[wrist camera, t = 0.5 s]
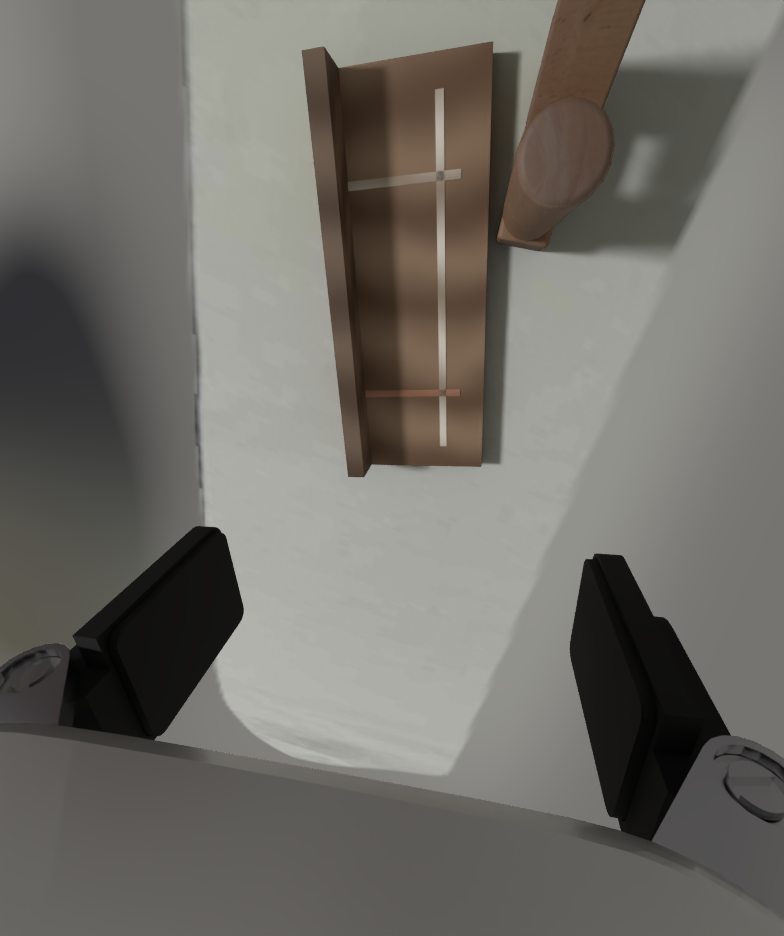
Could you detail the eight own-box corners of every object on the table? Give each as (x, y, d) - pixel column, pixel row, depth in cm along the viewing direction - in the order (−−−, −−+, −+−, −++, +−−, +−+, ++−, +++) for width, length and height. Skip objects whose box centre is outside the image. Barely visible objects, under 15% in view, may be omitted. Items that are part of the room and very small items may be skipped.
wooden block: (594, 74, 28) (742, -210, 12) (541, 252, 33) (595, 222, 17) (539, 66, 28) (610, -219, 12) (494, 243, 33) (503, 205, 17)
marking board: (325, 80, 31) (301, 50, 27) (492, 52, 29) (494, 15, 25) (360, 458, 43) (348, 476, 39) (481, 460, 40) (481, 480, 36)
